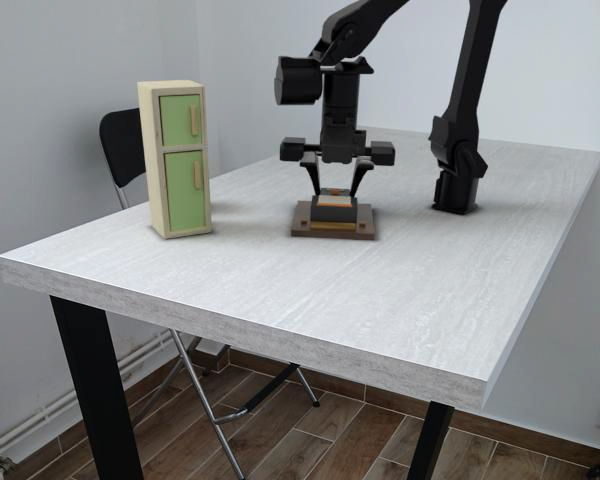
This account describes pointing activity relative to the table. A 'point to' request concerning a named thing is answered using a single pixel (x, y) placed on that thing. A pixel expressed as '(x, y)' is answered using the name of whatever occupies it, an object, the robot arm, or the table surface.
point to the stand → (333, 224)
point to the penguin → (334, 206)
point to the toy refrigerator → (176, 156)
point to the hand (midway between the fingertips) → (334, 203)
